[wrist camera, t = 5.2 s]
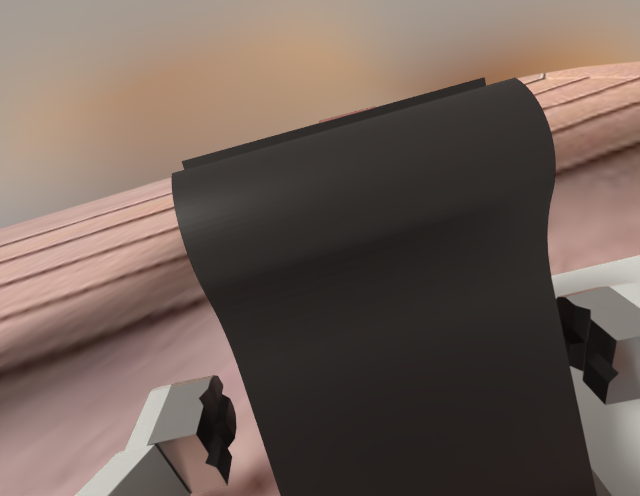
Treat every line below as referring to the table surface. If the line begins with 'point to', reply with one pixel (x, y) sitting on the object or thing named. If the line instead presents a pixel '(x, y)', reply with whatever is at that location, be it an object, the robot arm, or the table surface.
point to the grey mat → (598, 419)
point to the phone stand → (395, 297)
